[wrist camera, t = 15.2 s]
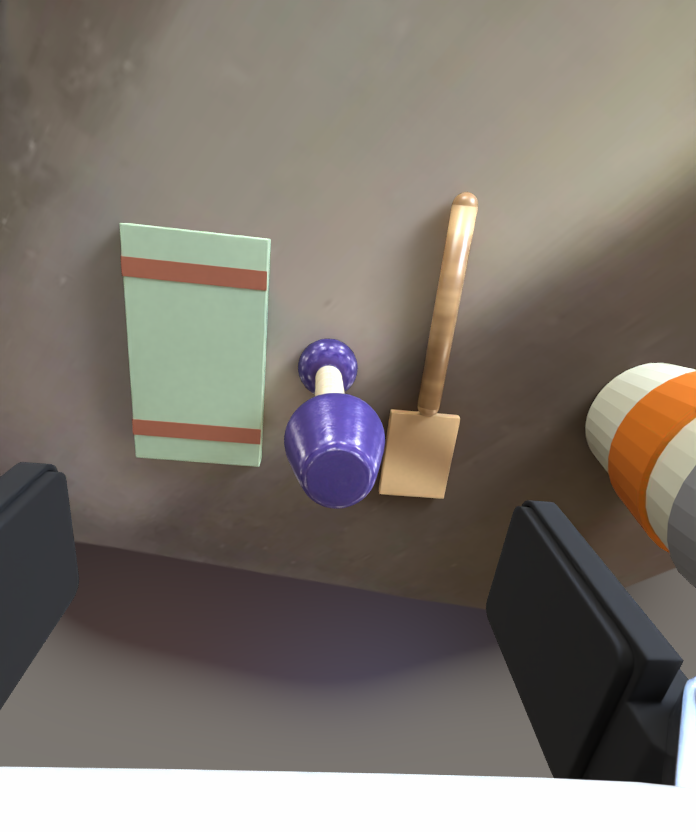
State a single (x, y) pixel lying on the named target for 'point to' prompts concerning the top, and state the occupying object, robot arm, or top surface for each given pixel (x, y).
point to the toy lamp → (333, 430)
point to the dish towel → (196, 342)
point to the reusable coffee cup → (652, 453)
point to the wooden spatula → (432, 380)
